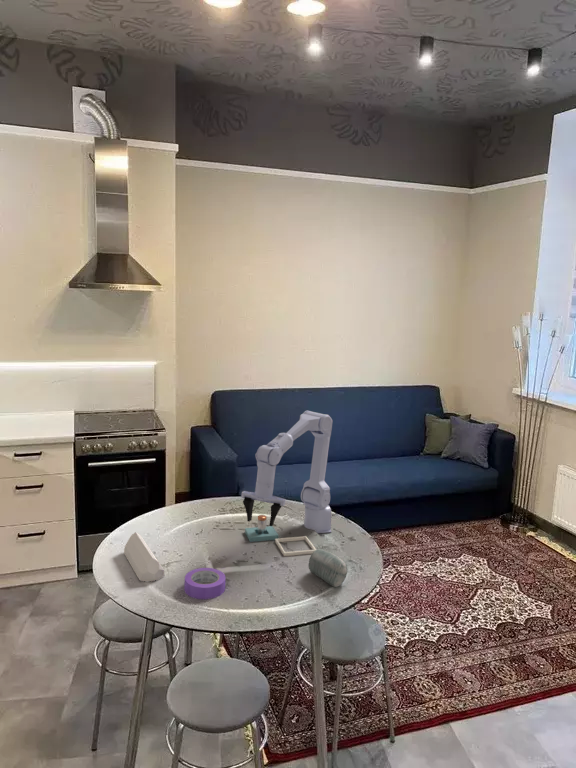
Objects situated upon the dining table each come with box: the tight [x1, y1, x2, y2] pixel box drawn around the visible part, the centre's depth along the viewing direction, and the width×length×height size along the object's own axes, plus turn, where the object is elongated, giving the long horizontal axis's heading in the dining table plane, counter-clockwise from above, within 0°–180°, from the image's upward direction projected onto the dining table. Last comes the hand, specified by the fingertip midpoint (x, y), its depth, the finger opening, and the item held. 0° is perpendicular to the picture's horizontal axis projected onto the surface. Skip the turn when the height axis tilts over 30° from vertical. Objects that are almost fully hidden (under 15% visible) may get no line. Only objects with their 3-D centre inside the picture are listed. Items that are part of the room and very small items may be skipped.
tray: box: [274, 535, 318, 557], centre depth 195 cm, size 11×11×2 cm
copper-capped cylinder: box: [256, 514, 268, 535], centre depth 202 cm, size 3×3×7 cm
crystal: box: [123, 532, 165, 582], centre depth 181 cm, size 7×7×24 cm
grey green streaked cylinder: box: [308, 548, 348, 588], centre depth 177 cm, size 14×10×10 cm
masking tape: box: [183, 567, 226, 600], centre depth 169 cm, size 12×12×4 cm
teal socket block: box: [244, 525, 280, 543], centre depth 203 cm, size 10×8×3 cm
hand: (260, 523), depth 191 cm, fingers open, 7 cm apart
